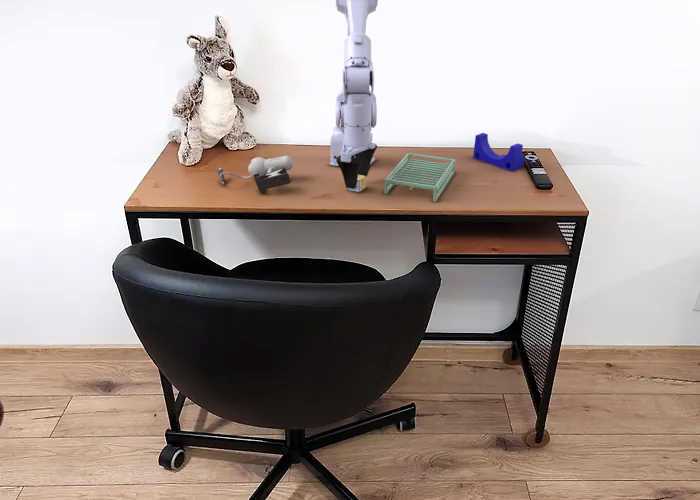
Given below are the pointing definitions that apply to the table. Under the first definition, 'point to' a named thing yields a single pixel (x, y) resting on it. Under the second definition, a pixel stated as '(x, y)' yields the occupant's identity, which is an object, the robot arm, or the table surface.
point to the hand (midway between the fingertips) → (356, 181)
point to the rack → (421, 174)
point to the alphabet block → (360, 184)
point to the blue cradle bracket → (508, 161)
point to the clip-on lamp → (266, 172)
